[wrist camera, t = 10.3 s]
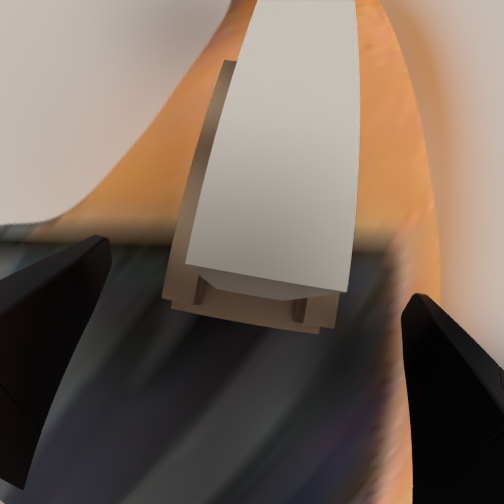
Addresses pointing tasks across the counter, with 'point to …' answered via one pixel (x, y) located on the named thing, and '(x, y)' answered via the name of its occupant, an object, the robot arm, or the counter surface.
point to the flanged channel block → (203, 293)
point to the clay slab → (285, 157)
